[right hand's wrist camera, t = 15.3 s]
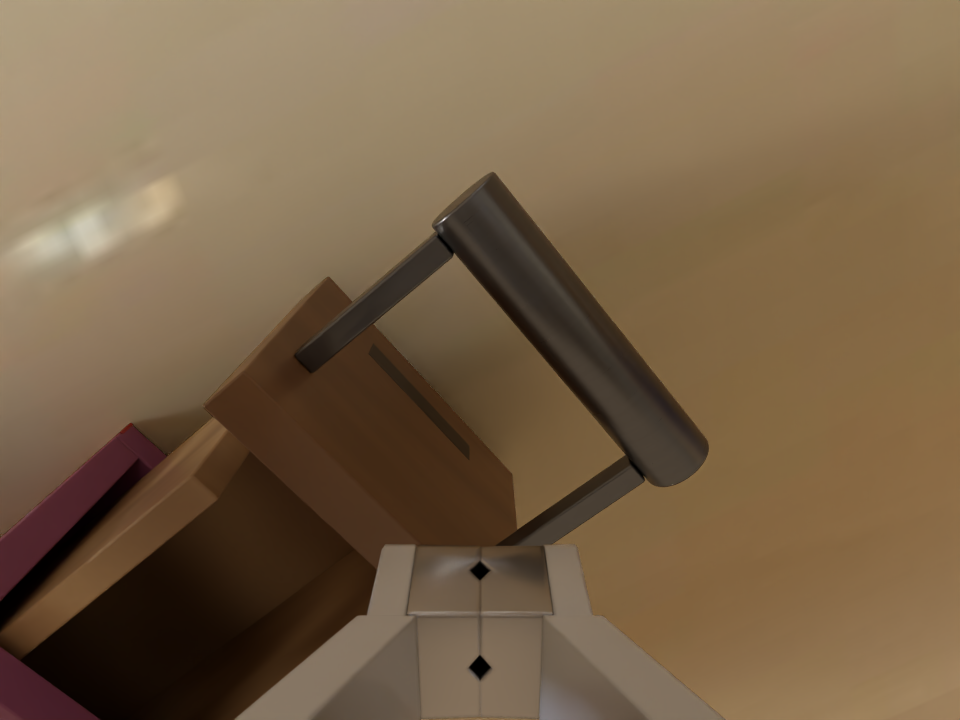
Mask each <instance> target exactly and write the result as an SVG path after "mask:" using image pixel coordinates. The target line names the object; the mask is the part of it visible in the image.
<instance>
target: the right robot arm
mask: <svg viewBox="0 0 960 720" xmlns="http://www.w3.org/2000/svg"><path fill="white" fill-rule="evenodd" d="M471 717H488V718H523V719H539V720H725V719H724V718H723V717H722V716H721V715H720V714H718V713H717V712H716V711H715V710H714V709H712V708H711V707H710V706H709V705H708V704H707V703H705V702H704V701H703V700H702V699H701V698H699V697H698V696H697V695H696V694H695V693H694V692H692V691H691V690H690V689H689V688H688V687H686V686H685V685H684V684H683V683H682V682H681V681H679V680H678V679H677V678H676V677H675V676H674V675H672V674H671V673H670V672H669V671H668V670H666V669H665V668H664V667H663V666H662V665H661V664H659V663H658V662H657V661H656V660H655V659H653V658H652V657H651V656H650V655H649V654H648V653H646V652H645V651H644V650H643V649H642V648H640V647H639V646H638V645H637V644H636V643H635V642H633V641H632V640H631V639H630V638H629V637H627V636H626V635H625V634H624V633H623V632H622V631H620V630H619V629H618V628H617V627H616V626H614V625H613V624H612V623H611V622H610V621H609V620H607V619H606V618H605V617H604V616H600V615H593V613H592V608H591V604H590V599H589V595H588V591H587V586H586V582H585V578H584V573H583V569H582V564H581V560H580V556H579V551H578V547H577V546H576V545H575V544H552V545H543V546H473V545H426V544H418V545H415V544H385V546H384V547H383V548H382V551H381V555H380V559H379V564H378V568H377V573H376V577H375V582H374V586H373V590H372V595H371V599H370V604H369V608H368V613H367V615H361V616H356V617H355V618H354V619H353V620H351V621H350V622H349V623H348V624H347V625H346V626H344V627H343V628H342V629H341V630H340V631H338V632H337V633H336V634H335V635H334V636H332V637H331V638H330V639H329V640H328V641H327V642H325V643H324V644H323V645H322V646H321V647H319V648H318V649H317V650H316V651H315V652H313V653H312V654H311V655H310V656H309V657H308V658H306V659H305V660H304V661H303V662H302V663H300V664H299V665H298V666H297V667H296V668H295V669H293V670H292V671H291V672H290V673H289V674H287V675H286V676H285V677H284V678H283V679H281V680H280V681H279V682H278V683H277V684H276V685H274V686H273V687H272V688H271V689H270V690H268V691H267V692H266V693H265V694H264V695H262V696H261V697H260V698H259V699H258V700H257V701H255V702H254V703H253V704H252V705H251V706H249V707H248V708H247V709H246V710H245V711H244V712H242V713H241V714H240V715H239V716H238V717H236V718H235V720H421V719H437V718H471Z"/></svg>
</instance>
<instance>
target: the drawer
mask: <svg viewBox="0 0 960 720" xmlns="http://www.w3.org/2000/svg"><path fill="white" fill-rule="evenodd" d="M432 227H433V228H434V230H435V231H436V232H435V233H433V234H432V235H431V236H430V237H429V238H427V239H426V240H425V241H424V242H423V243H422V244H420V245H419V246H418V247H417V248H416V249H415V250H413V251H412V252H411V253H410V254H409V255H407V256H406V257H405V258H404V259H403V260H402V261H400V262H399V263H398V264H397V265H396V266H395V267H393V268H392V269H391V270H390V271H389V272H387V273H386V274H385V275H384V276H383V277H382V278H380V279H379V280H378V281H377V282H376V283H375V284H373V285H372V286H371V287H370V288H369V289H367V290H366V291H365V292H364V293H363V294H362V295H360V296H359V297H358V298H357V299H356V300H355V301H353V302H352V301H351V300H350V299H349V298H348V297H347V295H346V294H345V293H344V292H343V291H342V290H341V289H340V288H339V287H338V286H337V285H336V284H335V283H334V281H333V280H332V279H331V278H330V277H327V278H325V279H324V280H323V281H322V282H321V283H320V284H319V285H317V286H316V287H315V288H314V289H313V290H312V291H311V292H309V293H308V294H307V295H306V296H305V297H304V298H303V299H301V300H300V302H299V303H298V304H297V305H296V306H295V307H294V308H293V309H292V310H291V311H290V312H289V313H288V314H287V315H286V316H285V318H284V319H283V320H282V321H281V322H280V323H279V324H278V325H277V326H276V327H275V328H274V329H273V330H272V331H271V333H270V334H269V335H268V336H267V337H266V338H265V339H264V340H263V341H262V342H261V343H260V344H259V345H258V346H257V348H256V349H255V350H254V351H253V352H252V353H251V354H250V355H249V356H248V357H247V358H246V359H245V360H244V361H243V363H242V364H241V365H240V366H239V367H238V368H237V369H236V370H235V371H234V372H233V373H232V374H231V375H230V376H229V377H228V379H227V380H226V381H225V382H224V383H223V384H222V385H221V386H220V387H219V388H218V389H217V390H216V391H215V392H214V394H213V395H212V396H211V397H210V398H209V399H208V400H207V401H206V402H205V403H204V405H203V407H204V409H205V410H206V411H208V412H209V413H210V414H211V415H212V416H213V418H212V419H211V420H209V421H208V422H207V423H206V424H205V425H204V426H202V427H201V428H200V429H199V430H198V431H197V432H195V433H194V434H193V435H192V436H191V437H189V438H188V439H187V440H186V441H185V442H184V443H182V444H181V445H180V446H179V447H178V448H177V449H175V450H174V451H173V452H172V453H171V454H169V455H168V456H167V457H166V458H165V459H164V460H162V461H161V462H160V463H159V464H158V465H157V466H155V467H154V468H153V469H152V470H151V471H150V472H148V473H147V474H146V475H145V476H144V477H142V478H141V479H140V480H139V481H138V482H137V483H135V484H134V485H133V486H132V487H131V488H130V489H128V490H127V491H126V492H125V493H124V494H123V495H121V496H120V497H119V498H118V499H117V500H115V501H114V502H113V503H112V504H111V505H110V506H108V507H107V508H106V509H105V510H104V511H103V512H101V513H100V514H99V515H98V516H97V517H95V518H94V519H93V520H92V521H91V522H90V523H88V524H87V525H86V526H85V527H84V528H83V529H81V530H80V531H79V532H78V533H77V534H76V535H74V536H73V537H72V538H71V539H70V540H68V541H67V542H66V543H65V544H64V545H63V546H61V547H60V548H59V549H58V550H57V551H56V552H54V553H53V554H52V555H51V556H50V557H48V558H47V559H46V560H45V561H44V562H43V563H41V564H40V565H39V566H38V567H37V568H36V569H34V570H33V571H32V572H31V573H30V574H29V575H27V576H26V577H25V578H24V579H23V580H21V581H20V582H19V583H18V584H17V585H16V586H15V587H14V588H13V589H12V590H11V591H10V592H9V593H8V594H7V595H6V596H5V597H4V598H3V599H2V600H1V601H0V647H1V648H3V649H4V650H6V651H7V652H8V653H10V654H11V655H12V656H14V657H15V658H17V659H18V660H19V661H21V662H22V663H23V664H25V665H26V666H28V667H29V668H30V669H32V670H33V671H34V672H36V673H37V674H39V675H40V676H41V677H43V678H44V679H45V680H47V681H48V682H50V683H51V684H52V685H54V686H55V687H56V688H58V689H59V690H61V691H62V692H63V693H65V694H66V695H68V696H69V697H70V698H72V699H73V700H74V701H76V702H77V703H79V704H80V705H81V706H83V707H84V708H85V709H87V710H88V711H90V712H91V713H92V714H94V715H95V716H96V717H98V718H99V719H101V720H235V718H236V717H238V716H239V715H240V714H241V713H242V712H244V711H245V710H246V709H247V708H248V707H249V706H251V705H252V704H253V703H254V702H255V701H257V700H258V699H259V698H260V697H261V696H262V695H264V694H265V693H266V692H267V691H268V690H270V689H271V688H272V687H273V686H274V685H276V684H277V683H278V682H279V681H280V680H281V679H283V678H284V677H285V676H286V675H287V674H289V673H290V672H291V671H292V670H293V669H295V668H296V667H297V666H298V665H299V664H300V663H302V662H303V661H304V660H305V659H306V658H308V657H309V656H310V655H311V654H312V653H313V652H315V651H316V650H317V649H318V648H319V647H321V646H322V645H323V644H324V643H325V642H327V641H328V640H329V639H330V638H331V637H332V636H334V635H335V634H336V633H337V632H338V631H340V630H341V629H342V628H343V627H344V626H346V625H347V624H348V623H349V622H350V621H351V620H353V619H354V618H355V617H356V616H361V615H367V613H368V608H369V604H370V599H371V595H372V590H373V586H374V582H375V577H376V573H377V568H378V564H379V559H380V555H381V551H382V548H383V547H384V546H385V544H415V545H418V544H426V545H473V546H543V545H552V544H553V543H555V542H556V541H558V540H559V539H560V538H562V537H563V536H565V535H566V534H568V533H569V532H571V531H572V530H574V529H575V528H577V527H578V526H580V525H581V524H583V523H584V522H586V521H587V520H589V519H590V518H591V517H593V516H594V515H596V514H597V513H599V512H600V511H602V510H603V509H605V508H606V507H608V506H609V505H611V504H612V503H614V502H615V501H617V500H618V499H620V498H621V497H623V496H624V495H625V494H627V493H628V492H630V491H631V490H633V489H634V488H636V487H637V486H639V485H640V484H642V483H643V482H644V481H645V479H644V477H645V478H646V479H647V480H648V481H649V482H650V483H651V484H652V485H655V486H658V487H668V486H673V485H676V484H678V483H680V482H682V481H684V480H686V479H687V478H689V477H690V476H691V475H693V474H694V473H695V472H696V471H697V470H698V469H699V468H700V467H701V466H702V464H703V463H704V461H705V459H706V457H707V455H708V451H709V445H708V441H707V439H706V438H705V436H704V435H703V434H702V433H701V431H700V430H699V429H698V428H697V426H696V425H695V424H694V423H693V421H692V420H691V419H690V418H689V416H688V415H687V414H686V413H685V411H684V410H683V409H682V407H681V406H680V405H679V404H678V402H677V401H676V400H675V399H674V397H673V396H672V395H671V394H670V392H669V391H668V390H667V389H666V387H665V386H664V385H663V384H662V382H661V381H660V380H659V379H658V377H657V376H656V375H655V374H654V372H653V371H652V370H651V368H650V367H649V366H648V365H647V363H646V362H645V361H644V360H643V358H642V357H641V356H640V355H639V353H638V352H637V351H636V350H635V348H634V347H633V346H632V345H631V343H630V342H629V341H628V340H627V338H626V337H625V336H624V335H623V333H622V332H621V331H620V329H619V328H618V327H617V326H616V324H615V323H614V322H613V321H612V319H611V318H610V317H609V316H608V314H607V313H606V312H605V311H604V309H603V308H602V307H601V306H600V304H599V303H598V302H597V301H596V299H595V298H594V297H593V296H592V294H591V293H590V292H589V290H588V289H587V288H586V287H585V285H584V284H583V283H582V282H581V280H580V279H579V278H578V277H577V275H576V274H575V273H574V272H573V270H572V269H571V268H570V267H569V265H568V264H567V263H566V262H565V260H564V259H563V258H562V257H561V255H560V254H559V253H558V251H557V250H556V249H555V248H554V246H553V245H552V244H551V243H550V241H549V240H548V239H547V238H546V236H545V235H544V234H543V233H542V231H541V230H540V229H539V228H538V226H537V225H536V224H535V223H534V221H533V220H532V219H531V218H530V216H529V215H528V214H527V212H526V211H525V210H524V209H523V207H522V206H521V205H520V204H519V202H518V201H517V200H516V199H515V197H514V196H513V195H512V194H511V192H510V191H509V190H508V189H507V187H506V186H505V185H504V184H503V182H502V181H501V180H500V178H499V177H498V176H497V175H496V173H494V172H491V173H489V174H487V175H485V176H484V177H483V178H481V179H480V180H479V181H477V182H476V183H475V184H474V185H472V186H471V187H470V188H469V189H467V190H466V191H465V192H464V193H463V194H461V195H460V196H459V197H458V198H457V199H456V200H455V201H454V202H452V203H451V204H450V205H449V206H448V207H447V208H446V209H445V210H444V211H443V212H442V213H441V214H440V215H439V216H438V217H437V218H436V219H435V220H434V222H433V224H432ZM454 253H455V254H456V256H457V257H458V258H459V259H460V260H461V261H462V263H463V264H464V265H465V266H466V267H467V268H468V270H469V271H470V272H471V273H472V274H473V276H474V277H475V278H476V279H477V280H478V281H479V283H480V284H481V285H482V286H483V287H484V288H485V290H486V291H487V292H488V293H489V294H490V296H491V297H492V298H493V299H494V300H495V301H496V303H497V304H498V305H499V306H500V307H501V308H502V310H503V311H504V312H505V313H506V314H507V316H508V317H509V318H510V319H511V320H512V321H513V323H514V324H515V325H516V326H517V327H518V328H519V330H520V331H521V332H522V333H523V334H524V336H525V337H526V338H527V339H528V340H529V341H530V343H531V344H532V345H533V346H534V347H535V348H536V350H537V351H538V352H539V353H540V354H541V356H542V357H543V358H544V359H545V360H546V361H547V363H548V364H549V365H550V366H551V367H552V368H553V370H554V371H555V372H556V373H557V374H558V376H559V377H560V378H561V379H562V380H563V381H564V383H565V384H566V385H567V386H568V387H569V388H570V390H571V391H572V392H573V393H574V394H575V396H576V397H577V398H578V399H579V400H580V401H581V403H582V404H583V405H584V406H585V407H586V408H587V410H588V411H589V412H590V413H591V414H592V416H593V417H594V418H595V419H596V420H597V421H598V423H599V424H600V425H601V426H602V427H603V428H604V430H605V431H606V432H607V433H608V434H609V436H610V437H611V438H612V439H613V440H614V441H615V443H616V444H617V445H618V446H619V447H620V448H621V450H622V451H623V452H624V453H625V454H626V455H625V456H623V457H622V458H621V459H619V460H618V461H616V462H615V463H613V464H612V465H610V466H609V467H608V468H606V469H605V470H603V471H602V472H600V473H599V474H597V475H596V476H595V477H593V478H592V479H590V480H589V481H587V482H586V483H584V484H583V485H582V486H580V487H579V488H577V489H576V490H574V491H573V492H571V493H570V494H569V495H567V496H566V497H564V498H563V499H561V500H560V501H558V502H557V503H556V504H554V505H553V506H551V507H550V508H548V509H547V510H546V511H544V512H543V513H541V514H540V515H538V516H537V517H535V518H534V519H533V520H531V521H530V522H528V523H527V524H525V525H524V526H522V527H521V528H520V529H518V530H517V522H516V511H515V500H514V489H513V478H512V473H511V472H510V471H509V470H508V469H507V468H506V467H505V466H504V465H503V464H502V463H501V461H500V460H499V459H498V458H497V457H496V456H495V455H494V454H493V453H492V452H491V451H490V450H489V449H488V447H487V446H486V445H485V444H484V443H483V442H482V441H481V440H480V439H479V438H478V437H477V436H476V434H475V433H474V432H473V431H472V430H471V429H470V428H469V427H468V426H467V425H466V424H465V423H464V422H463V420H462V419H461V418H460V417H459V416H458V415H457V414H456V413H455V412H454V411H453V410H452V409H451V408H450V406H449V405H448V404H447V403H446V402H445V401H444V400H443V399H442V398H441V397H440V396H439V395H438V394H437V392H436V391H435V390H434V389H433V388H432V387H431V386H430V385H429V384H428V383H427V382H426V381H425V380H424V378H423V377H422V376H421V375H420V374H419V373H418V372H417V371H416V370H415V369H414V368H413V367H412V366H411V364H410V363H409V362H408V361H407V360H406V359H405V358H404V357H403V356H402V355H401V354H400V353H399V352H398V350H397V349H396V348H395V347H394V346H393V345H392V344H391V343H390V342H389V341H388V340H387V339H386V338H385V336H384V335H383V334H382V333H381V332H380V331H379V330H378V329H377V328H376V327H375V326H374V325H373V323H374V322H375V321H377V320H378V319H379V318H380V317H381V316H383V315H384V314H385V313H386V312H387V311H389V310H390V309H391V308H392V307H394V306H395V305H396V304H397V303H398V302H400V301H401V300H402V299H403V298H404V297H406V296H407V295H408V294H409V293H410V292H412V291H413V290H414V289H415V288H416V287H418V286H419V285H420V284H421V283H422V282H424V281H425V280H426V279H427V278H428V277H430V276H431V275H432V274H433V273H434V272H436V271H437V270H438V269H439V268H440V267H442V266H443V265H444V264H445V263H446V262H448V261H449V260H450V259H451V258H452V257H453V255H454Z"/></svg>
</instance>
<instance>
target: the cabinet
mask: <svg viewBox="0 0 960 720" xmlns="http://www.w3.org/2000/svg"><path fill="white" fill-rule="evenodd" d="M166 457H167V456H166V455H165V454H164V453H163V452H161V451H160V450H159V449H158V448H157V447H156V446H155V445H154V444H152V443H151V442H150V441H149V440H148V439H147V438H146V437H145V436H144V435H142V434H141V433H140V432H139V431H138V430H137V429H136V428H135V427H133V424H132V423H130V424H128V425H127V426H126V427H125V428H124V429H123V430H122V431H120V432H119V433H118V434H117V435H116V436H115V437H114V438H113V439H111V440H110V441H109V442H108V443H107V444H106V445H105V446H104V447H102V448H101V449H100V450H99V451H98V452H97V453H96V454H94V455H93V456H92V457H91V458H90V459H89V460H88V461H87V462H85V463H84V464H83V465H82V466H81V467H80V468H79V469H78V470H76V471H75V472H74V473H73V474H72V475H71V476H70V477H68V478H67V479H66V480H65V481H64V482H63V483H62V484H61V485H59V486H58V487H57V488H56V489H55V490H54V491H53V492H52V493H50V494H49V495H48V496H47V497H46V498H45V499H44V500H42V501H41V502H40V503H39V504H38V505H37V506H36V507H35V508H33V509H32V510H31V511H30V512H29V513H28V514H27V515H26V516H24V517H23V518H22V519H21V520H20V521H19V522H18V523H16V524H15V525H14V526H13V527H12V528H11V529H10V530H9V531H7V532H6V533H5V534H4V535H3V536H2V537H1V538H0V601H1V600H2V599H3V598H4V597H5V596H6V595H7V594H8V593H9V592H10V591H11V590H12V589H13V588H14V587H15V586H16V585H17V584H18V583H19V582H20V581H21V580H23V579H24V578H25V577H26V576H27V575H29V574H30V573H31V572H32V571H33V570H34V569H36V568H37V567H38V566H39V565H40V564H41V563H43V562H44V561H45V560H46V559H47V558H48V557H50V556H51V555H52V554H53V553H54V552H56V551H57V550H58V549H59V548H60V547H61V546H63V545H64V544H65V543H66V542H67V541H68V540H70V539H71V538H72V537H73V536H74V535H76V534H77V533H78V532H79V531H80V530H81V529H83V528H84V527H85V526H86V525H87V524H88V523H90V522H91V521H92V520H93V519H94V518H95V517H97V516H98V515H99V514H100V513H101V512H103V511H104V510H105V509H106V508H107V507H108V506H110V505H111V504H112V503H113V502H114V501H115V500H117V499H118V498H119V497H120V496H121V495H123V494H124V493H125V492H126V491H127V490H128V489H130V488H131V487H132V486H133V485H134V484H135V483H137V482H138V481H139V480H140V479H141V478H142V477H144V476H145V475H146V474H147V473H148V472H150V471H151V470H152V469H153V468H154V467H155V466H157V465H158V464H159V463H160V462H161V461H162V460H164V459H165V458H166ZM0 720H101V719H99V718H98V717H96V716H95V715H94V714H92V713H91V712H90V711H88V710H87V709H85V708H84V707H83V706H81V705H80V704H79V703H77V702H76V701H74V700H73V699H72V698H70V697H69V696H68V695H66V694H65V693H63V692H62V691H61V690H59V689H58V688H56V687H55V686H54V685H52V684H51V683H50V682H48V681H47V680H45V679H44V678H43V677H41V676H40V675H39V674H37V673H36V672H34V671H33V670H32V669H30V668H29V667H28V666H26V665H25V664H23V663H22V662H21V661H19V660H18V659H17V658H15V657H14V656H12V655H11V654H10V653H8V652H7V651H6V650H4V649H3V648H1V647H0Z"/></svg>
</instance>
